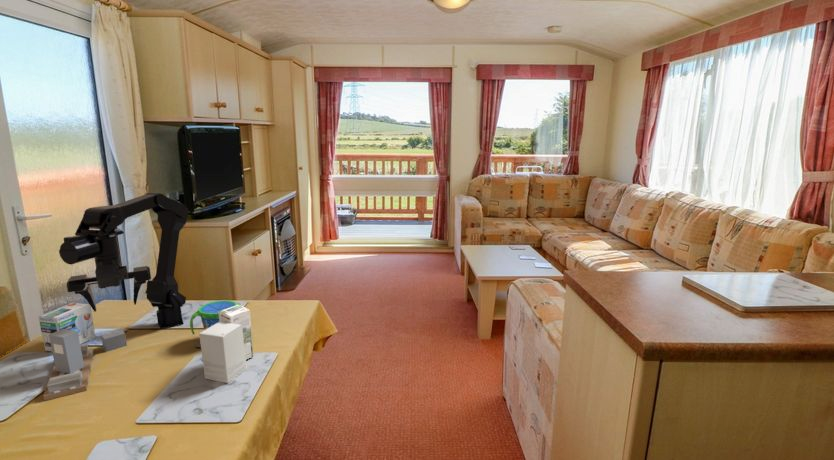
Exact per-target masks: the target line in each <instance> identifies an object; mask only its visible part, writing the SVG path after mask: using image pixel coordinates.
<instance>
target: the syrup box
mask: <svg viewBox="0 0 834 460" xmlns="http://www.w3.org/2000/svg"><path fill="white" fill-rule="evenodd" d="M240 305H241V304H239V305H236V306H233V307H230V308H227V309H224V310H222V311H219V322H225V323H232V324H239V325H242V331H243V340H244V349H245V358H246V360H247V359H249V358H251V357H253V358H254V350H253V349H254V347H253V337H252V325H251V322H252V321H251V314H250V313H251V311H250V309H249V308H247V307H245V306H243V305H241V306H240ZM251 359H252V358H251ZM249 360H250V359H249ZM247 361H248V360H247Z"/></svg>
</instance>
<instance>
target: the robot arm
mask: <svg viewBox="0 0 834 460" xmlns="http://www.w3.org/2000/svg"><path fill="white" fill-rule="evenodd" d="M149 210H151V212H153V213H155V214H156V215H157V222H158V225H159V227H160V229H161V234H160V242H159V249H158V257H157V263H156V264H157V265H156V273H155V275H154V277H153V278H152V275H151V268H150V266H148V265H145V266H144V265H143V266H137V267H133V271H129V270H128V266H127V265H122V261H121V254H120V248H119V243H118V242H119V241H118V236H119V235H123V234H124V233H125V231H123V230H121V229H120V228H118V227H119V226H120V225H122V224H123V223H124V222H125V220H127V218H130V217H133V216H135V215H138V214H141V213H143V212H145V211H149ZM188 216H189V209H188V208H187V206H186V205H185V203H180V202H179V201H177V200H175V199H173V198H170V197H167V196H166V195H165V194H163V193H161V192H146V193H144V194H143V195H140V196H137V197H133V198H132V199H131V198H130V199H128V200H126V201H122V202H119V203H117V204H112V205H101V206H93V207H88V208H87V209H85V210H84V213H83V217H82V219H81V220H80V223H79V225H78V226H77V228H76V231H75V233H74V235H73V236H66V237H63V243H61V245H60V247H59V250H58V253H59V256H60V258H61V260H62V261H63V262H64V263H65V264H68V265H75V264H78V263H82V262H85V261H88V260H93V259H94V264H95V270H94V273H95V276H91V277H88V276H87V274H80V275H72V276H71V275H70V277H69V278H68V279H67V282H66V290H67V293H73V292H74V294H75V295H81V296H82V297H83V298H84V299H85V300H86V302H88V303H87V304H90V306H91V310H93V312H94V313H95V312H97V304H96V301H95V298H94V294H93V291H92V288H91V285H97V286H98V289H106V288H111V287H113V288H114V287H119V286H120V285H121V281H124V280H132V279H133V304H134V306H135V305H136V306H137V301H138V295H139V293H140V289H141V287H142V285H143V284H146V289H145V291H144V294H145V295H146V300H148V301H149V303H150V304H151V307H153V308H154V307H155V308H157V310H156V313H155V314H156V319H157V325H158V326H159V328H160V329H166V328H171V327H176V326H180V325H183V324H184V320H183V316H182V315H183V314H182V307H183V306H184V305H185V304H186V302H187V301H186V300H187V297H186V296H185V295H183V294H182V293H180V292H179V284H178V282H177V280H176V278H175V270H176V261H177V255H178V246H179V238H180V237H179V236H180V232H181V230H182V229H183V228H184V227H185V225H186V223H187V220H188Z"/></svg>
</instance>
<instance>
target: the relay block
mask: <svg viewBox="0 0 834 460" xmlns="http://www.w3.org/2000/svg"><path fill="white" fill-rule="evenodd" d="M100 338H101V342H102V343H101V344H102V347H103V349H104V350H105V351H106V353H107V352H112V351H114V350H117V349H120V348H124V347H127V346H128V343H127V337H126V332H124V331H123V330H122V329H121V328H120V329H117V330H113V331H110V332H106V333H103V334H100Z"/></svg>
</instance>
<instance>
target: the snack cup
mask: <svg viewBox="0 0 834 460" xmlns="http://www.w3.org/2000/svg"><path fill="white" fill-rule="evenodd" d="M236 305H240V306H242V305H241V304H239V303H236V302H235V301H232V300H217V301H211V302H208V303H205V304H203V305H200V307H198V310H197V311H195V312H194V313H193V314H192V316H191V317H190V319H189V320H190V321H189V327H190V330H191V333H192V335H195V331H194V322H193V321H194V319H196V317H200V318H201V323H202V326H203V331H204V330H206V329H208V328H209V327H211V326H213V325H215V324H216V323H218V322H219V311H222V310H224V309H227V308H230V307H233V306H236Z"/></svg>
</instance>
